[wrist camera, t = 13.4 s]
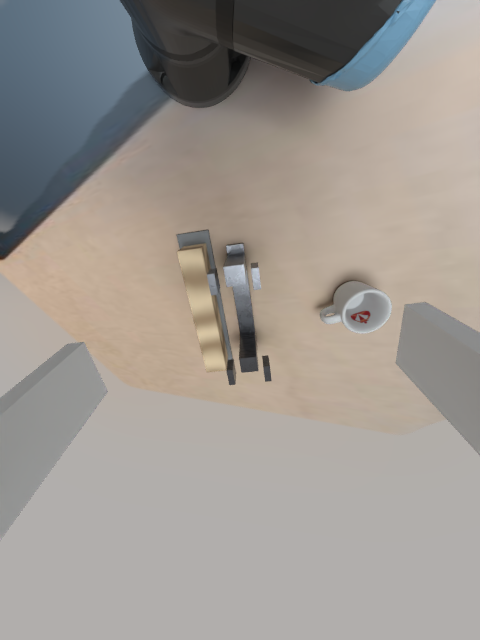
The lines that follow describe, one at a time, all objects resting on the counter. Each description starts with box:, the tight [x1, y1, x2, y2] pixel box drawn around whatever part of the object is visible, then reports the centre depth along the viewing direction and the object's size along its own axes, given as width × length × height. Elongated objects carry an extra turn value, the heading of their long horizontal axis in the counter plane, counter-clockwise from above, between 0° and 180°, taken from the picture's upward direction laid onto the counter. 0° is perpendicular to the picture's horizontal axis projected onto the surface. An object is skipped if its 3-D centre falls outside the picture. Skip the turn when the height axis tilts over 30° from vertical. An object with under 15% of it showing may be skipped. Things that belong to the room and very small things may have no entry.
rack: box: [207, 243, 271, 385], centre depth 43 cm, size 22×7×13 cm, turn 8°
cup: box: [320, 281, 392, 333], centre depth 44 cm, size 11×8×8 cm
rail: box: [177, 243, 228, 372], centre depth 47 cm, size 24×4×5 cm, turn 8°
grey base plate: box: [177, 230, 233, 362], centre depth 49 cm, size 28×6×1 cm, turn 8°
